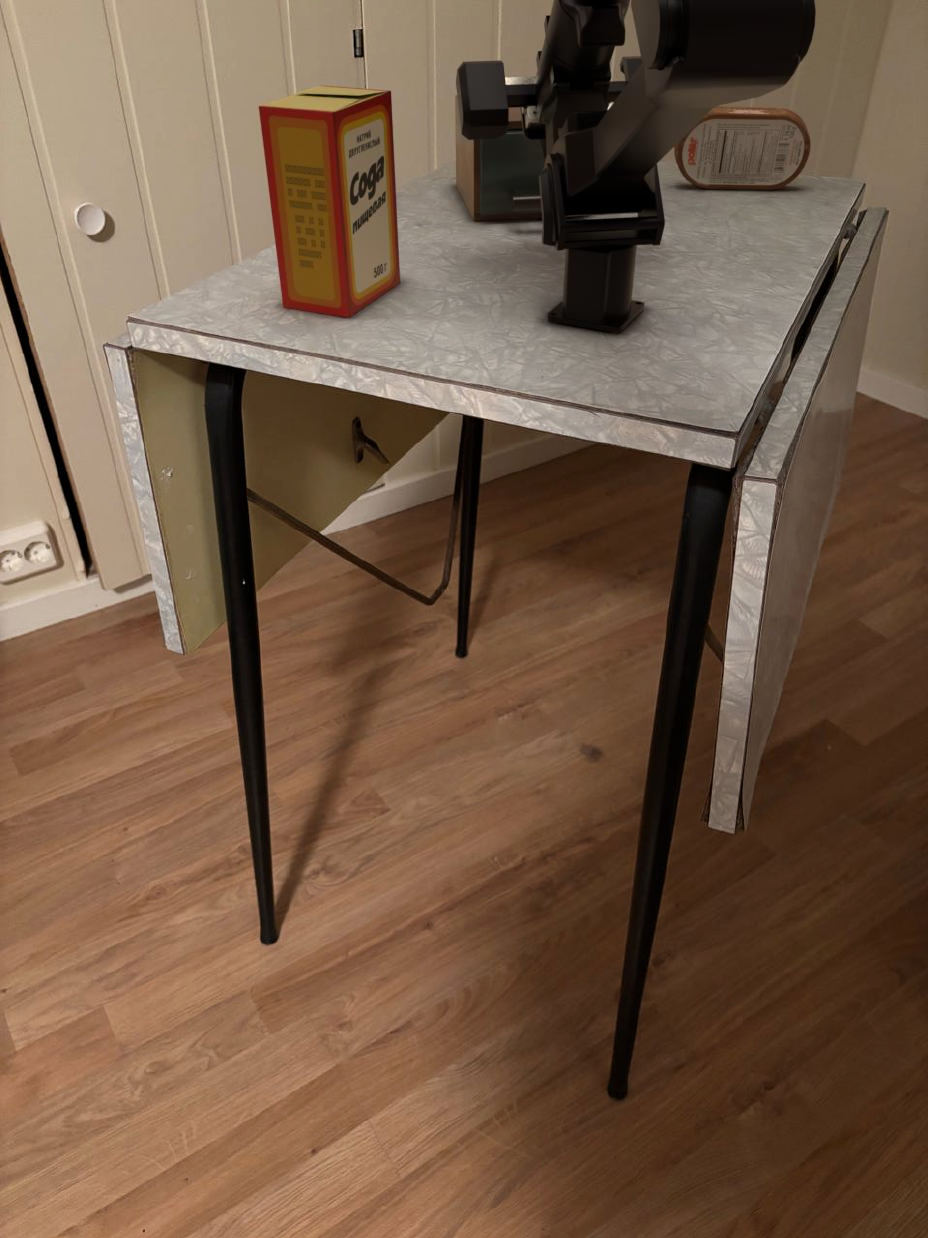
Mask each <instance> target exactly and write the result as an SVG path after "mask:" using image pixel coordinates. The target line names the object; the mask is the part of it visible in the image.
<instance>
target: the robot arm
mask: <svg viewBox="0 0 928 1238" xmlns="http://www.w3.org/2000/svg"><path fill="white" fill-rule="evenodd" d="M629 7H630V8H631V13H632V18H633V23H634V28H635V32H636V38H637V43H638V49H639V53H640V55H639V56H638V55H634V56H632V55H631V56H622V57H621V60H620V63H619V70H620V72H621V73H622V74H623V75H624V80H613V81H612V77H613V76H612V69H611V64H610V63H611V60H612V59H613V58H612V57H613V55H614V51H615V49H616V47H623V46H624V45H625V43H626V24H625V19H626V16H627V12H628V10H629ZM816 9H817V8H816V2H815V0H553V1H552V6H551V11H550V14H549V15H546V14H545V18H544V22H543V23H544V24H543V27H544V34H545V36H544V40H543V45H542V49H541V50H538V51H537V53H536V57H535V61H536V69H537V71H536V75H531V76H506V73H505V64H504V62H503V61H502V60H472V61H471V60H470V61H462V62H461V64H460V65H459V67H458V68H457V69H456V77H455V87H456V89H455V90H456V95H457V98H458V107H459V116H460V125H461V134H462V135H463V136H464V137H465V138H467V139H468V140H482V139H498V138H499V137H501V136H503V135H504V134H506V133H507V130H508V123H509V108H514V107H520V110H521V118H522V127H523V133H524V136H525V137H526V138H527V139H529V140H540V142H541V146H542V150H543V154H544V158H545V159H546V160H545V165H544V168H543V171H542V173H541V174H540V175H539V185H540V197H541V208H542V218H541V220H542V221H541V224H542V228H541V229H542V230H541V243H542V245H545V246H550V247H553V248H554V249H555V250H556V251H564V250H565V251H564V253H565V254H564V272H563V288H562V301H560V302H559V303H558V304H557V305H556V306H554V308H552V309H551V310H550V311H549V312H547V314H546V320H547V321H549V322H554V323H558V324H559V323H560V324H565V325H571V326H575V327H582V328H588V329H593V330H599V331H605V332H611V333H621V332H622V331H623V330H624V329H625V328H626V327H627V326H628V325H629V324H630V323H632V321H633V320H634V319H635V318H637V316H639V314H641V312H643V311H644V309H645V302H643V301H641V300H634V299H633V290H634V280H635V270H636V260H637V251H638V250H637V249H638V246H661V243H662V238H663V234H664V230H665V226H666V220H665V211H664V205H663V197H662V190H661V183H660V175H659V169H658V163H659V162H660V161H661V160H663V158H664V157H665V156H667V155H668V154H669V152H670V151H671V150H672V149H674V146H675V145H676V144H677V143H678V142H679V141H680V140H681V139H682V138H683V137H684V136H685V135H686V134H687V133H688V132H689V131H690V130H691V129H692V128H693V127H694V126H695V125H696V124H697V123H698V122H699V121H700V120H701V119H702V118H704V117H705V116H706V115H707V114H708V113H709V112H710V111H711V110H712V109H713V108H714V107H716V106H725V105H728V104H734V103H738V102H741V101H747V100H752V99H756V98H761V97H763V96H765V95H767V94H770V93H772V92H774V91H777V90H779V89H781V88H783V87H784V86H786V85H787V84H788V82H789V81H790V80H792V77H793V76H794V75H795V74H796V72H797V70H798V67H799V66H800V64H801V63H802V62H803V60H804V58H805V57H806V56H807V54H808V52H809V49H810V46H811V45H812V41H813V36H814V31H815V27H816V15H817V13H816V12H817V10H816ZM626 214H627V215H628V214H629V215H631V214H637V216H629V217H626V216H625V217H610V218H609V217H608V218H606V217H605V218H589V219H566V218H568V217H567V216H572V217H588V215H589V216H605V215H626Z"/></svg>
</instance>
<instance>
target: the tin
mask: <svg viewBox="0 0 928 1238" xmlns="http://www.w3.org/2000/svg"><path fill="white" fill-rule="evenodd" d="M811 146H812V145H811V137H810V134H809V131H808V127H807V125H806V123H805V121H804V120H803V118H802V117H801V116H800V115H799V114H798V113H797V112H795V111H793V110H792V109H789V108H785V107H776V106H775V107H771V106H770V107H768V106H766V107H765V106H732V105H731V106H730V105H719V106H716V107H714V108H713V109H712V110H711V111H710V112H709V113H708V114H707V115H706V116H705V117H704V118H702V119H701V120H700V121H699V122H698V123H697V124H696V125H695V126H694V127H693V128H692V129H691V130H690V131H689V132H688V133H687V134H686V135H685V136H684V137H683V138H682V139H681V140H680V141H679V142H678V143H677V144H676V145H675V146H674V147H673V153H674V154H673V155H674V159H675V163H676V165H677V167H678V170H679V172H680V173H681V175H682V177H683V178H684V179H685V181H687V182H688V183H689V184H691V185H693V186H695V187H697V188H701V189H709V190H710V189H712V190H714V189H716V190H749V191H750V190H753V191H772V190H773V191H774V190H778V189H781V188H784V187H786V186H787V185H788V184H790V183H792V182H793V181H794V180H795V179H797V177H799V175H801V173H802V172H803V170H804V168H805V167H806V165H807V162H808V160H809V157H810V153H811Z"/></svg>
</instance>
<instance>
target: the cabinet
mask: <svg viewBox="0 0 928 1238" xmlns="http://www.w3.org/2000/svg"><path fill="white" fill-rule="evenodd" d="M454 105H455V106H454V110H455V111H454V116H455V117H454V118H455V119H454V120H455V121H454V122H455V125H454V126H455V185H456V188H457V190H458V192H459V194H460V197H461V198H462V200H463V201H464V204H465V206H466V208H467V210H468V212H469V214H470V216H471V218H472V221H473V222H484V221H485V222H487V221H506V220H508V221H509V220H526V219H527V220H528V219H530V220H531V219H542V213H521V214H500V215H481V214H480V212H479V194H480V140H468V139H467V138H465V137H464V136H463V135H462V134H461V125H460V116H459V107H458V98H457V94H456V95H454ZM510 129H523V127H522V118H521V110H520V107H514V108H509V123H508V130H510ZM588 216H590V215H588ZM588 216H587V217H588ZM568 217H573V216H567V217H566V218H568Z"/></svg>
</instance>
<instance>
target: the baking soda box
mask: <svg viewBox="0 0 928 1238" xmlns="http://www.w3.org/2000/svg"><path fill="white" fill-rule="evenodd" d="M258 115H259V121H260V130H261V138H262V146H263V147H262V148H263V152H264V153H263V154H264V161H265V162H264V164H265V170H266V171H265V172H266V179H267V187H268V195H269V203H270V210H271V211H270V213H271V220H272V227H273V236H274V242H275V243H274V245H275V251H276V260H277V268H278V277H279V285H280V292H281V302H282V308H287V309H293V310H298V311H305V312H310V313H311V312H312V313H318V314H322V315H329V316H336V317H341V318H347V319H348V318H349V319H350V318H351V317H353V316H354V315H355V314H357V313H358V312H360V311H361V310H362V309H364V308H366V307H368V306H369V305H370V304H371V303H373V302H374V301H376V300H377V299H379V298H380V297H382V296H383V295H385V294H386V293H387V292H389V291H390V290H392V289H393V288H394V287H396V286H397V285H399V284H400V283H401V270H400V269H401V268H400V248H399V228H398V227H399V226H398V208H397V207H398V205H397V187H396V186H397V184H396V183H397V182H396V165H395V144H394V141H395V140H394V124H393V123H394V122H393V120H394V119H393V103H392V90H386V89H373V88H360V87H346V86H334V85H318V86H314V87H312V88H311V87H310V88H308V89H304V90H300V91H298V92H296V93H295V94H292V95H288V96H286V97H283V98H279V99H276V100H273V101H270V102H268V103H264V104H261V105H258Z"/></svg>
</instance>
